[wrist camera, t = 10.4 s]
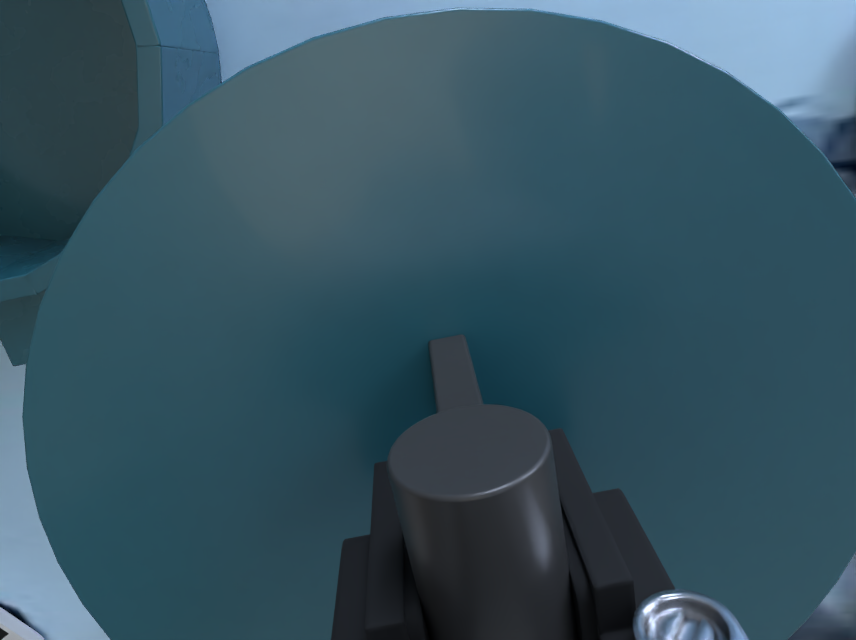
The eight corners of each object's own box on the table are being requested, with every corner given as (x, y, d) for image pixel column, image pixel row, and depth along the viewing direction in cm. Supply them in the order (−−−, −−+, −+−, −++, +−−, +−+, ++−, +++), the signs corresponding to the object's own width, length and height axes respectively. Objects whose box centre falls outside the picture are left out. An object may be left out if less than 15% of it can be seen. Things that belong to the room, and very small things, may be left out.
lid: (894, -82, 11) (1475, -266, 5) (845, 668, 17) (1078, 974, 11) (-107, 123, 11) (-648, 174, 5) (204, 783, 18) (109, 1136, 12)
